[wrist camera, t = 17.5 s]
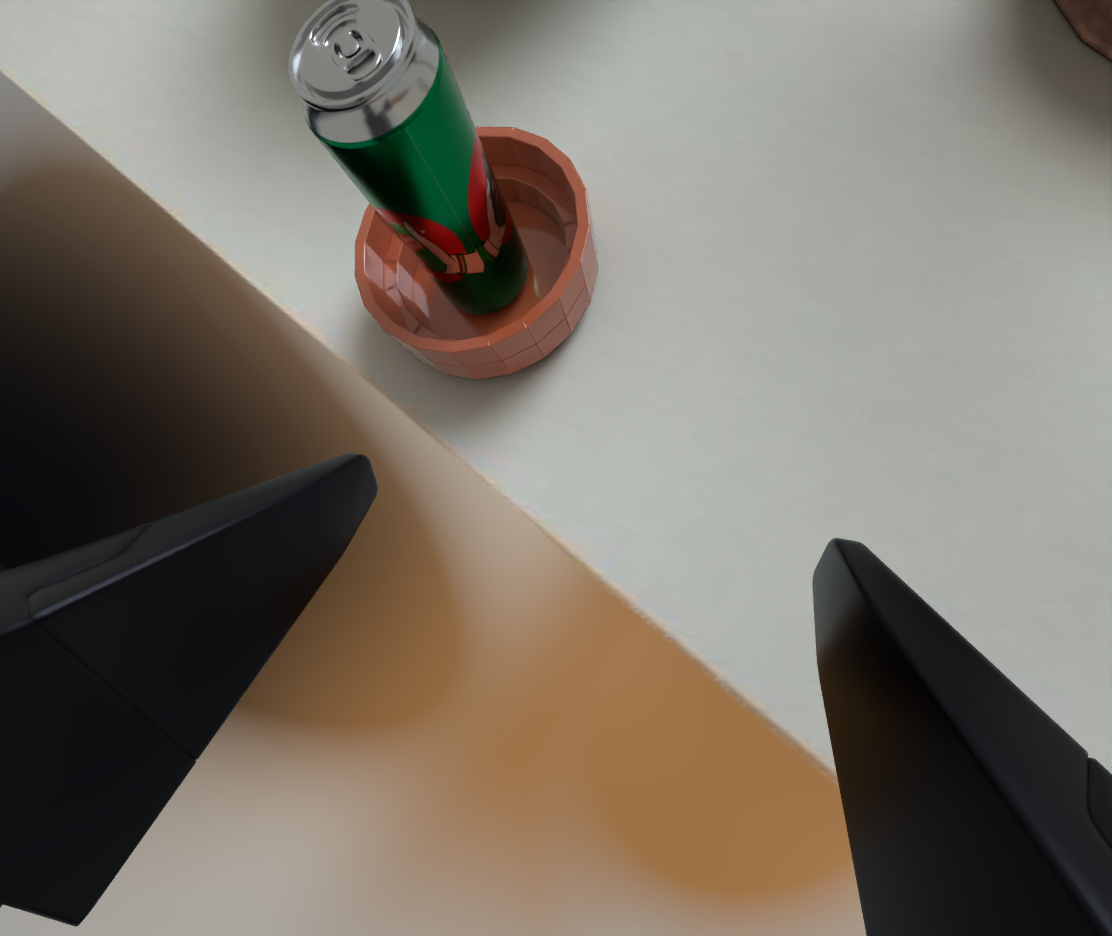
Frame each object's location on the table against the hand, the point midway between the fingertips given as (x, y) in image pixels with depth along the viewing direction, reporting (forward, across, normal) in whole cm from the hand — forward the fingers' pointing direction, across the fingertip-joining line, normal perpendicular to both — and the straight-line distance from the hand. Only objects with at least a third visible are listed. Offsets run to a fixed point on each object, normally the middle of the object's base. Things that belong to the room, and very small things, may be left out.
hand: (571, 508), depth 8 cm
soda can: (+18, +10, 0) cm, 20 cm away
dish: (+18, +10, 0) cm, 21 cm away
